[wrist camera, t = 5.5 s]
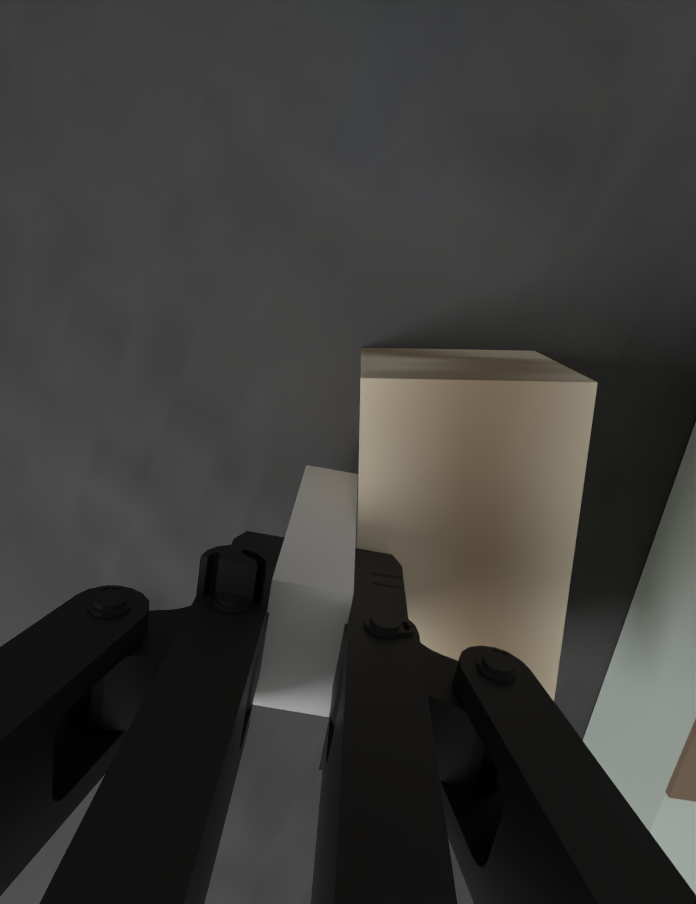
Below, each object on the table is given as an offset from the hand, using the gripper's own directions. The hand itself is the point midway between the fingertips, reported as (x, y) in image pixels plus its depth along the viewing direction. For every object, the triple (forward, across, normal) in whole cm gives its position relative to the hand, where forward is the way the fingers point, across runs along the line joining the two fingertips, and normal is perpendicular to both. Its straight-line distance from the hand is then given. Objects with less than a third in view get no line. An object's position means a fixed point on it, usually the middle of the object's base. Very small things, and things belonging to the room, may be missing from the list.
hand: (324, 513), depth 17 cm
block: (+2, +3, +1) cm, 4 cm away
